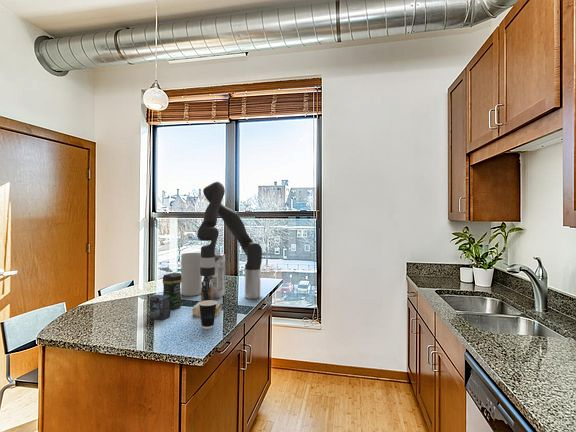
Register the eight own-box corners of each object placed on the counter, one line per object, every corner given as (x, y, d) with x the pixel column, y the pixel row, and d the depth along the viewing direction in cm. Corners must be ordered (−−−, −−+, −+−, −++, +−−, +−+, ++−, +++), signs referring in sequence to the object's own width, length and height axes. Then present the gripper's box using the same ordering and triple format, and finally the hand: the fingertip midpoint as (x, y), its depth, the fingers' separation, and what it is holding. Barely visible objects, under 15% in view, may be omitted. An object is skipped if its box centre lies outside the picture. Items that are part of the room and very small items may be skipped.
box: (149, 318, 158) (149, 296, 158) (157, 315, 163) (157, 294, 163) (162, 320, 155) (163, 298, 155) (170, 317, 161) (170, 295, 161)
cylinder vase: (198, 296, 200) (198, 255, 200) (178, 296, 200) (178, 255, 200) (204, 291, 212) (204, 252, 212) (185, 291, 213) (185, 252, 212)
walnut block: (213, 299, 171) (213, 285, 171) (211, 301, 166) (211, 288, 166) (203, 299, 171) (203, 285, 171) (201, 301, 166) (201, 288, 166)
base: (221, 309, 174) (221, 301, 174) (216, 316, 162) (216, 307, 162) (198, 308, 174) (199, 300, 174) (192, 316, 162) (192, 307, 162)
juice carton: (226, 294, 205) (226, 251, 205) (221, 298, 195) (221, 253, 194) (212, 294, 206) (212, 251, 206) (206, 298, 196) (206, 253, 195)
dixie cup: (208, 331, 142) (208, 306, 142) (194, 328, 146) (194, 303, 146) (220, 325, 149) (220, 301, 149) (207, 322, 153) (207, 299, 153)
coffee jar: (170, 311, 170) (170, 275, 170) (159, 308, 174) (159, 274, 173) (184, 306, 179) (184, 272, 179) (173, 304, 182) (173, 271, 182)
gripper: (211, 268, 161) (211, 302, 161) (217, 263, 175) (217, 295, 176) (196, 268, 161) (196, 302, 161) (203, 263, 175) (203, 295, 176)
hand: (207, 298), depth 168 cm, fingers closed on walnut block, 5 cm apart
